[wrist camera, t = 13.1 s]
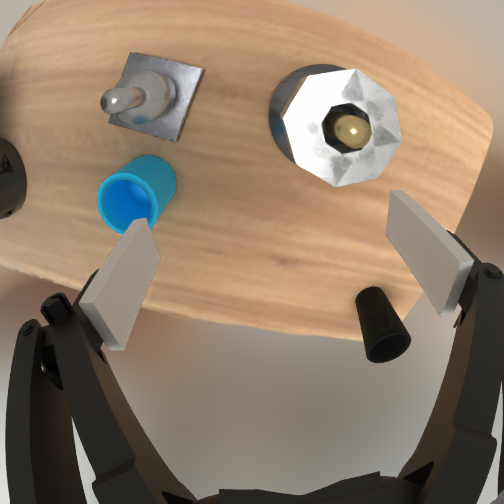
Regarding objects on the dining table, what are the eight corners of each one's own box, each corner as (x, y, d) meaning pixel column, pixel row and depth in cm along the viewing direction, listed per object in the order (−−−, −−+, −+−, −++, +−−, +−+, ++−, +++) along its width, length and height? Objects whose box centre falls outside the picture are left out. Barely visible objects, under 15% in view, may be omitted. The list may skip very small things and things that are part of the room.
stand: (113, 121, 31) (62, 140, 21) (134, 53, 26) (85, 45, 16) (178, 140, 33) (144, 165, 23) (204, 69, 28) (178, 60, 18)
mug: (126, 150, 34) (97, 168, 27) (180, 160, 35) (161, 179, 28) (122, 224, 40) (99, 253, 33) (170, 235, 41) (154, 267, 34)
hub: (251, 142, 34) (247, 169, 23) (295, 47, 26) (315, 26, 16) (345, 185, 36) (378, 228, 26) (390, 99, 29) (444, 111, 19)
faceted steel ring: (299, 182, 30) (304, 195, 27) (270, 85, 24) (272, 84, 21) (389, 161, 28) (405, 172, 25) (371, 67, 22) (386, 65, 19)
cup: (359, 318, 50) (375, 368, 40) (343, 296, 47) (359, 350, 37) (393, 299, 48) (415, 347, 38) (380, 275, 45) (405, 325, 35)
